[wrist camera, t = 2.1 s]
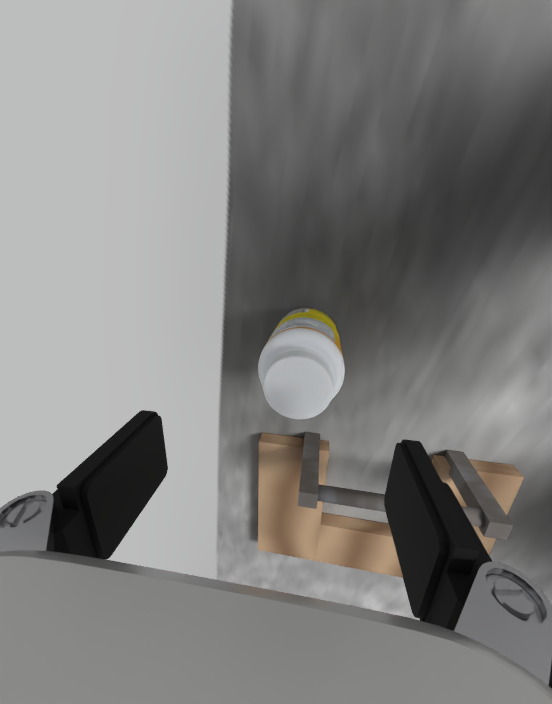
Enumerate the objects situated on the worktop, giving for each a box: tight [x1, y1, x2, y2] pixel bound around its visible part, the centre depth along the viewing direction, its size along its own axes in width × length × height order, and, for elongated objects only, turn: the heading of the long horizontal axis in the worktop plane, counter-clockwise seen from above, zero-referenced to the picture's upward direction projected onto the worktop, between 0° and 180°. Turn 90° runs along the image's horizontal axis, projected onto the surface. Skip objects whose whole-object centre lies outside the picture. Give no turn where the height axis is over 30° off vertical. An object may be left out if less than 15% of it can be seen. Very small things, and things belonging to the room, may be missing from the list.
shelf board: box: [258, 432, 524, 577], centre depth 27 cm, size 24×17×8 cm
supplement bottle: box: [258, 307, 345, 419], centre depth 20 cm, size 6×6×10 cm
